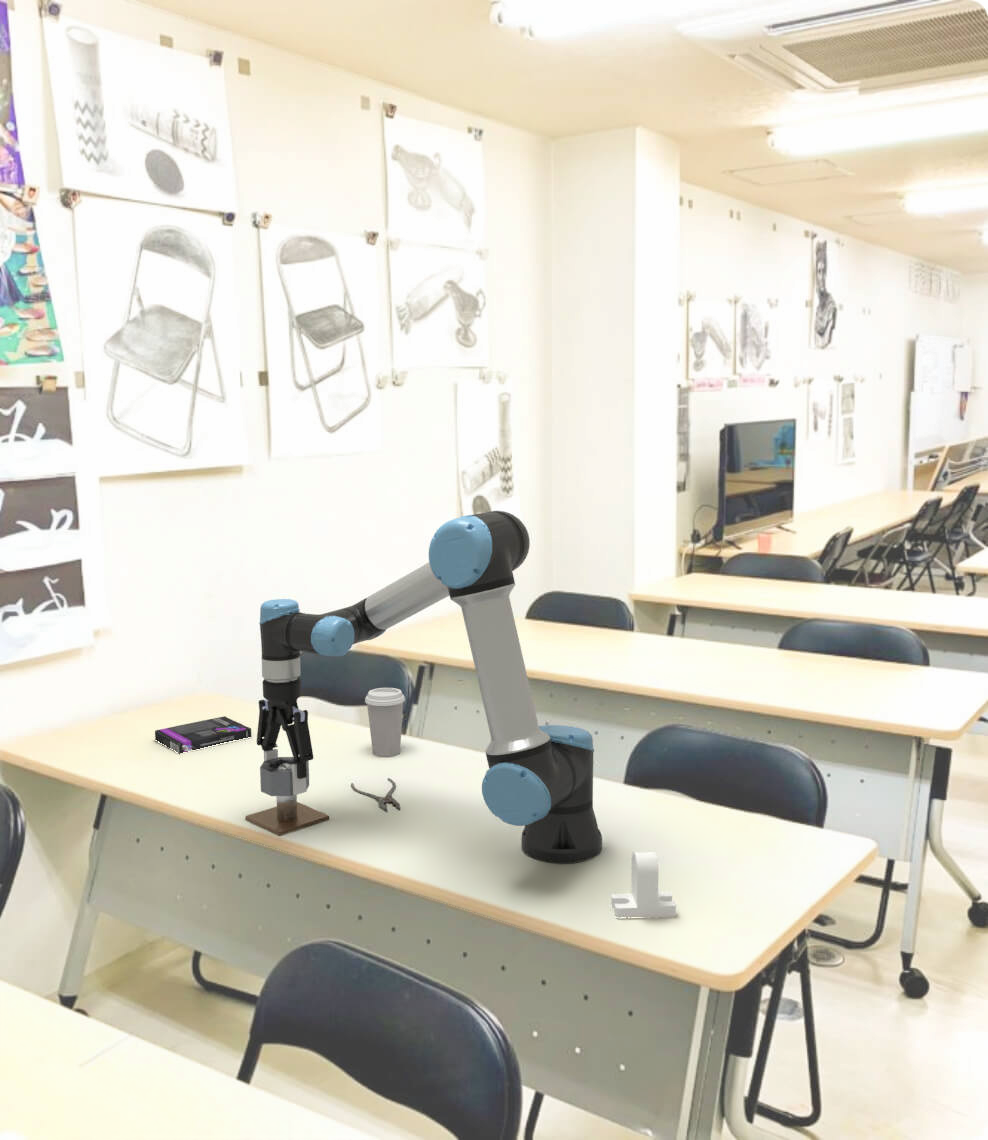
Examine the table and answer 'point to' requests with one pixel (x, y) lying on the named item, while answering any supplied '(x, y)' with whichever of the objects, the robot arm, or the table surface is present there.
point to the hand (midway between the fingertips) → (285, 787)
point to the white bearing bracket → (644, 891)
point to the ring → (278, 777)
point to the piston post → (286, 814)
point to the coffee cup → (385, 720)
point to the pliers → (382, 800)
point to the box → (202, 734)
